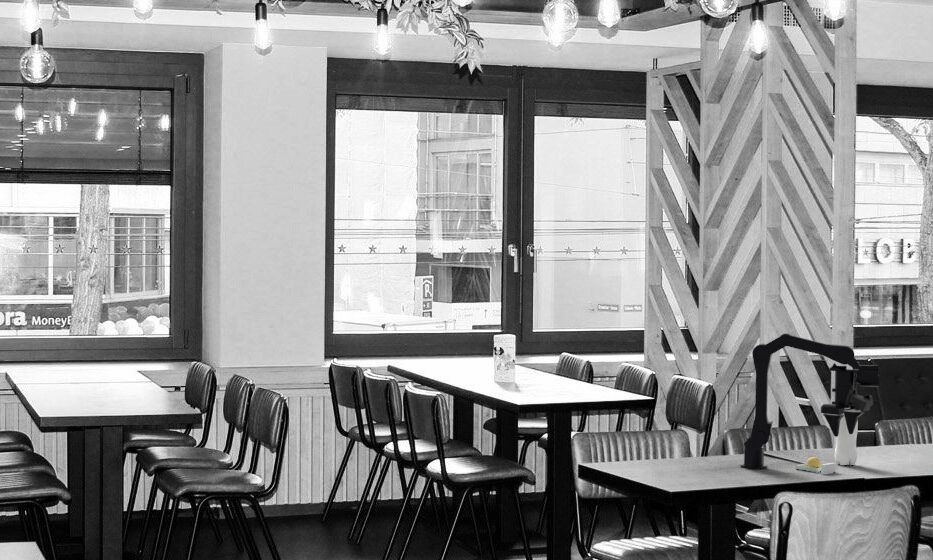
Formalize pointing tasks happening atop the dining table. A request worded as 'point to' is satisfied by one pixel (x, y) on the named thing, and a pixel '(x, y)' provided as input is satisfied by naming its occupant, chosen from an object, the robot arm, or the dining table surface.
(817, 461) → the ball
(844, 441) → the water bottle
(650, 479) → the dining table surface
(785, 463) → the dining table surface
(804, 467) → the dish
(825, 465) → the wall
